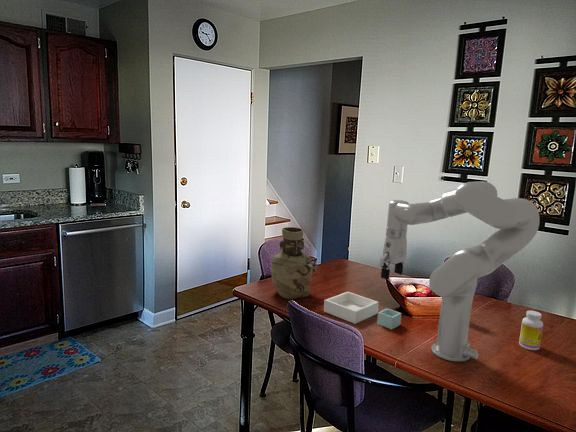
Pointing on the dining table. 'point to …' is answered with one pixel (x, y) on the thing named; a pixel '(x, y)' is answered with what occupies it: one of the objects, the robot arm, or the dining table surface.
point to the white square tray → (351, 307)
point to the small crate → (389, 318)
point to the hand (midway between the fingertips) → (391, 276)
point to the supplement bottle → (531, 331)
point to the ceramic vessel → (292, 266)
